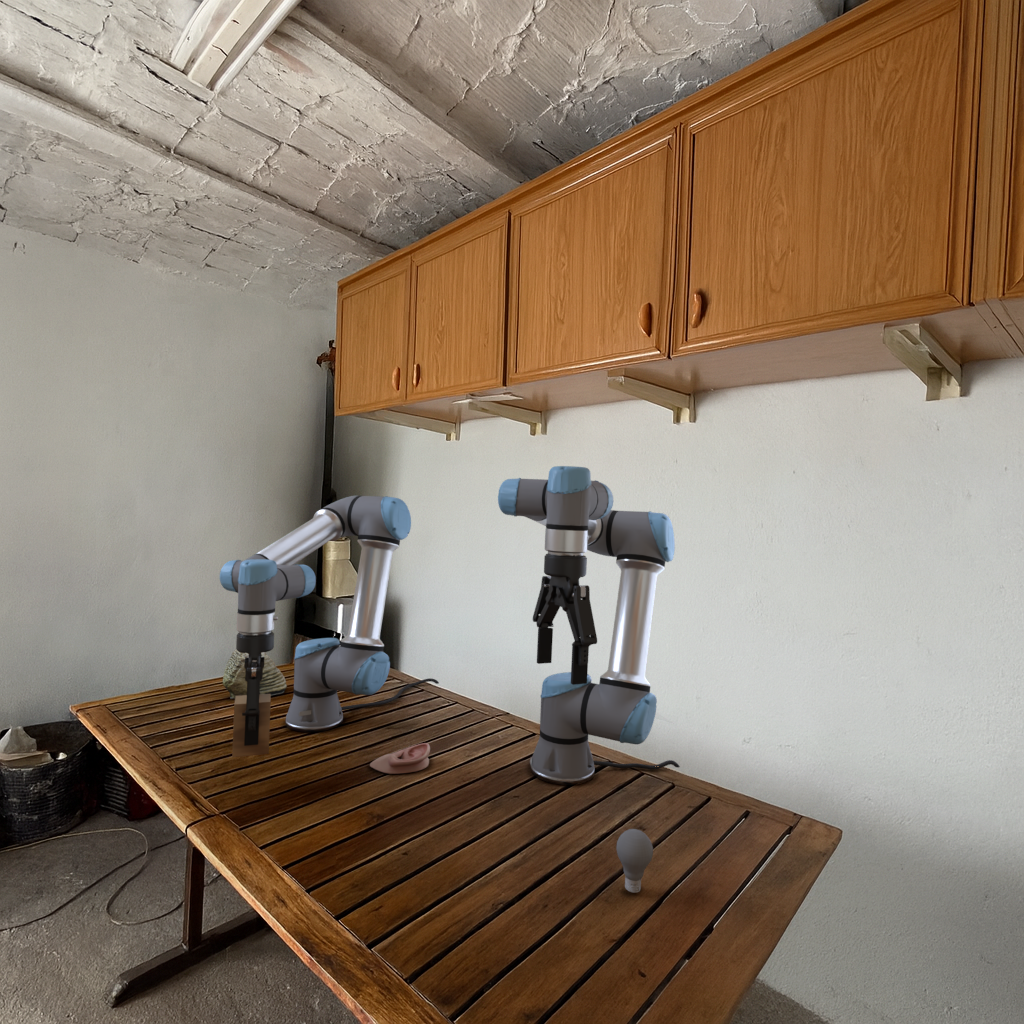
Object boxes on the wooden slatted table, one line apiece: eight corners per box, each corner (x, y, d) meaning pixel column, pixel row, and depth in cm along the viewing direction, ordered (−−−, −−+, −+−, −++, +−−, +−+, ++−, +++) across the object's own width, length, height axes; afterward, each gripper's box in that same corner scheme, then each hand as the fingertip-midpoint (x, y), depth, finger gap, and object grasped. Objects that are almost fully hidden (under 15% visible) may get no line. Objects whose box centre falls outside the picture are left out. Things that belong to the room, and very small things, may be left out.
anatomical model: (364, 753, 147) (384, 735, 158) (364, 770, 147) (383, 751, 158) (419, 760, 144) (435, 742, 155) (418, 778, 144) (434, 758, 156)
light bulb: (610, 879, 108) (613, 822, 108) (644, 879, 109) (647, 822, 109) (619, 902, 102) (622, 840, 102) (655, 901, 103) (658, 840, 103)
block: (232, 757, 132) (234, 704, 132) (233, 746, 138) (235, 695, 138) (268, 754, 135) (270, 701, 135) (268, 743, 141) (270, 693, 140)
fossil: (218, 695, 195) (220, 647, 195) (278, 685, 208) (279, 640, 207) (228, 703, 189) (230, 653, 188) (289, 692, 201) (290, 645, 201)
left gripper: (274, 641, 129) (270, 754, 129) (274, 622, 146) (270, 722, 147) (234, 642, 126) (230, 757, 126) (238, 623, 144) (235, 724, 144)
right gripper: (622, 561, 102) (616, 691, 103) (553, 547, 125) (548, 654, 126) (581, 560, 99) (575, 695, 100) (518, 547, 122) (513, 656, 123)
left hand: (251, 738), depth 136 cm, fingers closed on block, 6 cm apart
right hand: (560, 672), depth 113 cm, fingers open, 13 cm apart
